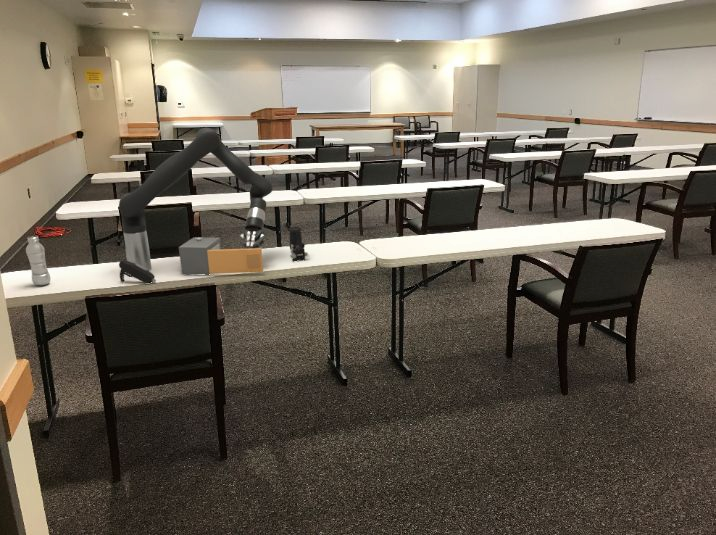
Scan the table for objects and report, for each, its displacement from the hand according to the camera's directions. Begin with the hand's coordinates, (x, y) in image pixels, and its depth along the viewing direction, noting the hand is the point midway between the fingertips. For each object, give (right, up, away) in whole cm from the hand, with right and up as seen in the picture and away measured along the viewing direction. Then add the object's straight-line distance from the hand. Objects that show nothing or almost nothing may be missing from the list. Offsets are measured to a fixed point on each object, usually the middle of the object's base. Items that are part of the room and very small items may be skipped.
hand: (248, 255), depth 236 cm
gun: (-43, -11, -9) cm, 45 cm away
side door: (-5, -7, -3) cm, 9 cm away
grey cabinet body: (-21, -6, +6) cm, 23 cm away
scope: (+18, -1, +19) cm, 27 cm away
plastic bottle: (-81, -12, -10) cm, 83 cm away
